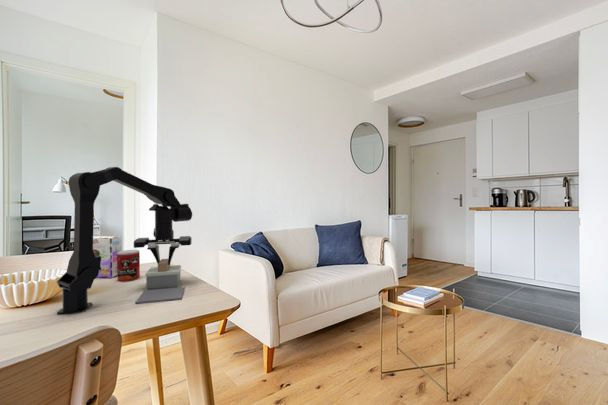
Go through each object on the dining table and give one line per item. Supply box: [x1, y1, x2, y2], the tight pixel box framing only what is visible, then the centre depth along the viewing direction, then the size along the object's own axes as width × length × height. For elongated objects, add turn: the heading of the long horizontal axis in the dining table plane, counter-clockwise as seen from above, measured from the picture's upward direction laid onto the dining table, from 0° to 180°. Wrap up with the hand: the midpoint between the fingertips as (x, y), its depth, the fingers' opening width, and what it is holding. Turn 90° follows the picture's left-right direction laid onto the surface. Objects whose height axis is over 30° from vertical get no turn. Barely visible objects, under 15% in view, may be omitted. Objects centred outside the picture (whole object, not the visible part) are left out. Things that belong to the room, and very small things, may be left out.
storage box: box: [145, 270, 181, 290], centre depth 109 cm, size 10×10×5 cm
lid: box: [145, 258, 182, 277], centre depth 109 cm, size 10×10×5 cm
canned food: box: [116, 249, 141, 282], centre depth 118 cm, size 8×8×11 cm
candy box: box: [93, 235, 122, 279], centre depth 122 cm, size 14×6×16 cm, turn 84°
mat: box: [134, 286, 186, 305], centre depth 97 cm, size 12×13×1 cm
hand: (164, 265), depth 109 cm, fingers closed on lid, 3 cm apart
